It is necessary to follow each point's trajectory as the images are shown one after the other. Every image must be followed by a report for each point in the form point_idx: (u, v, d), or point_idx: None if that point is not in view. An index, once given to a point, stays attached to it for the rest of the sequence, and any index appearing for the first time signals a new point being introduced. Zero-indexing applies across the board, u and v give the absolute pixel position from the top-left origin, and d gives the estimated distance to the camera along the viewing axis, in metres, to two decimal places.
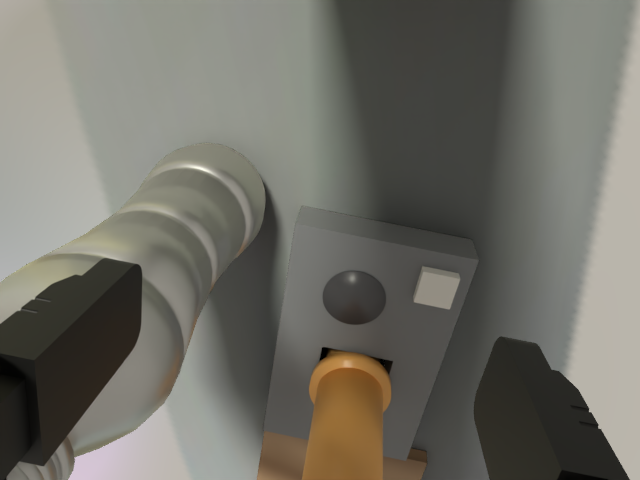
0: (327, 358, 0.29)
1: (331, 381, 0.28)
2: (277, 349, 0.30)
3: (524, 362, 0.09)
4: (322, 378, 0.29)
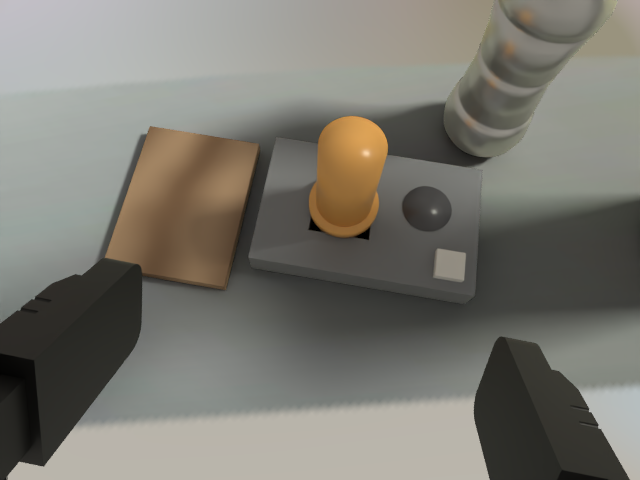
0: None
1: None
2: None
3: (524, 362, 0.09)
4: None
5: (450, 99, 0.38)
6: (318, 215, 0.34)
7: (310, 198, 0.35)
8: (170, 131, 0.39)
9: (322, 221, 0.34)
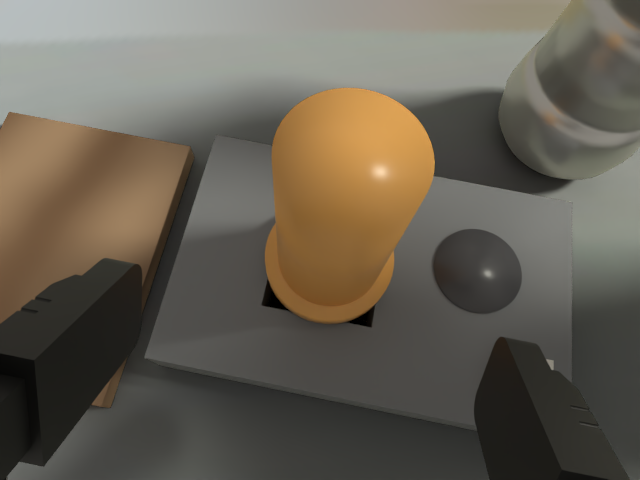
0: None
1: None
2: None
3: (524, 362, 0.09)
4: None
5: (516, 79, 0.22)
6: (281, 282, 0.18)
7: (267, 248, 0.19)
8: (42, 121, 0.23)
9: (288, 294, 0.18)
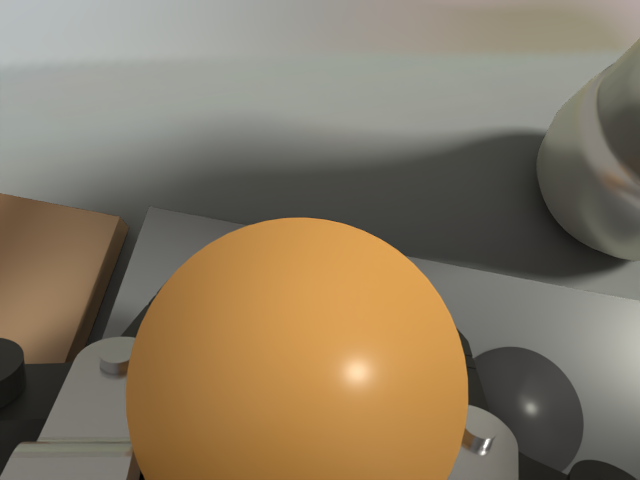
0: None
1: None
2: None
3: None
4: None
5: (566, 128, 0.16)
6: None
7: None
8: None
9: None
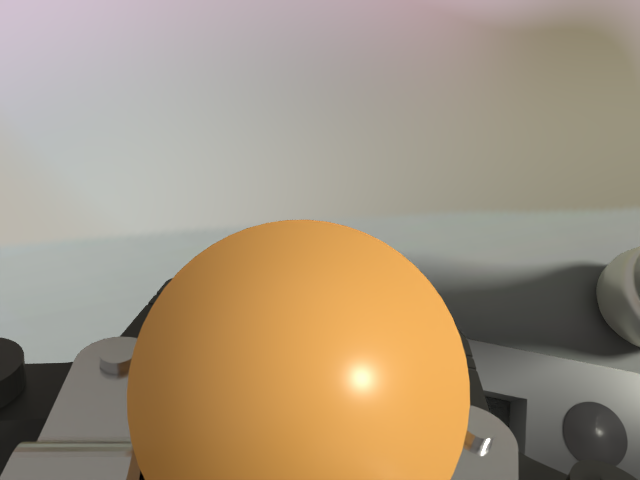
0: None
1: None
2: (513, 350, 0.29)
3: None
4: None
5: (616, 281, 0.30)
6: None
7: None
8: None
9: None
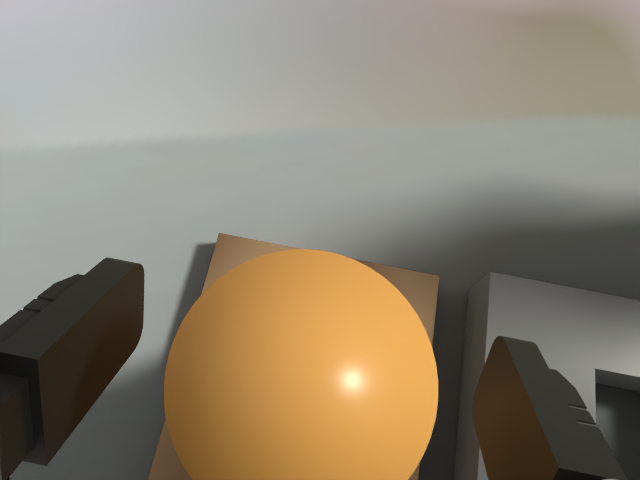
0: None
1: None
2: None
3: (522, 361, 0.09)
4: None
5: None
6: None
7: None
8: (260, 245, 0.20)
9: None
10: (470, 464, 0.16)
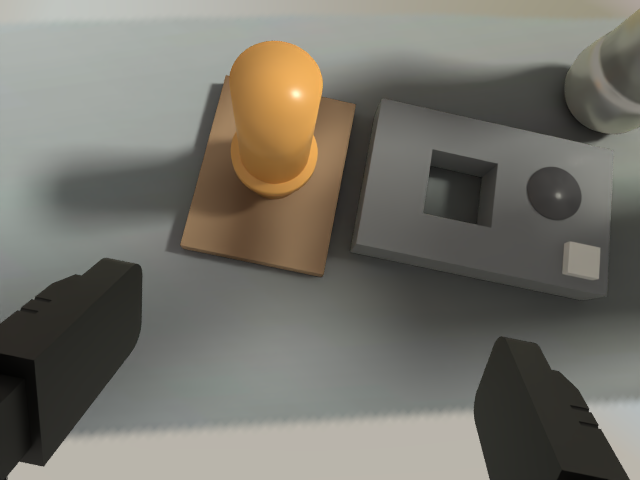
0: None
1: None
2: (488, 123, 0.32)
3: (524, 362, 0.09)
4: None
5: (583, 64, 0.33)
6: (241, 168, 0.28)
7: (232, 146, 0.28)
8: None
9: (246, 175, 0.28)
10: (363, 195, 0.31)
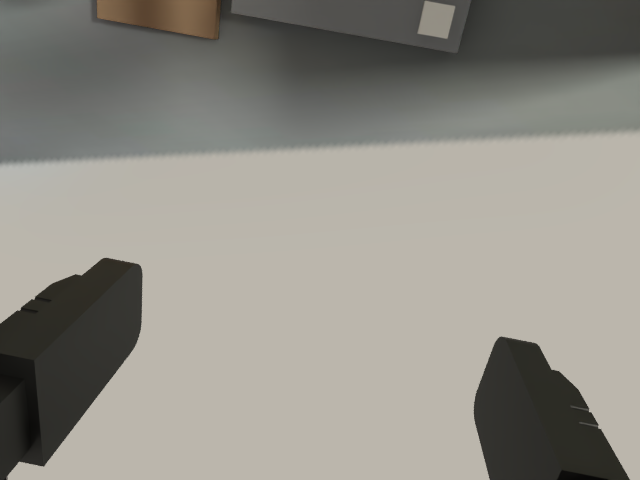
0: None
1: None
2: None
3: (524, 362, 0.09)
4: None
5: None
6: None
7: None
8: None
9: None
10: None
